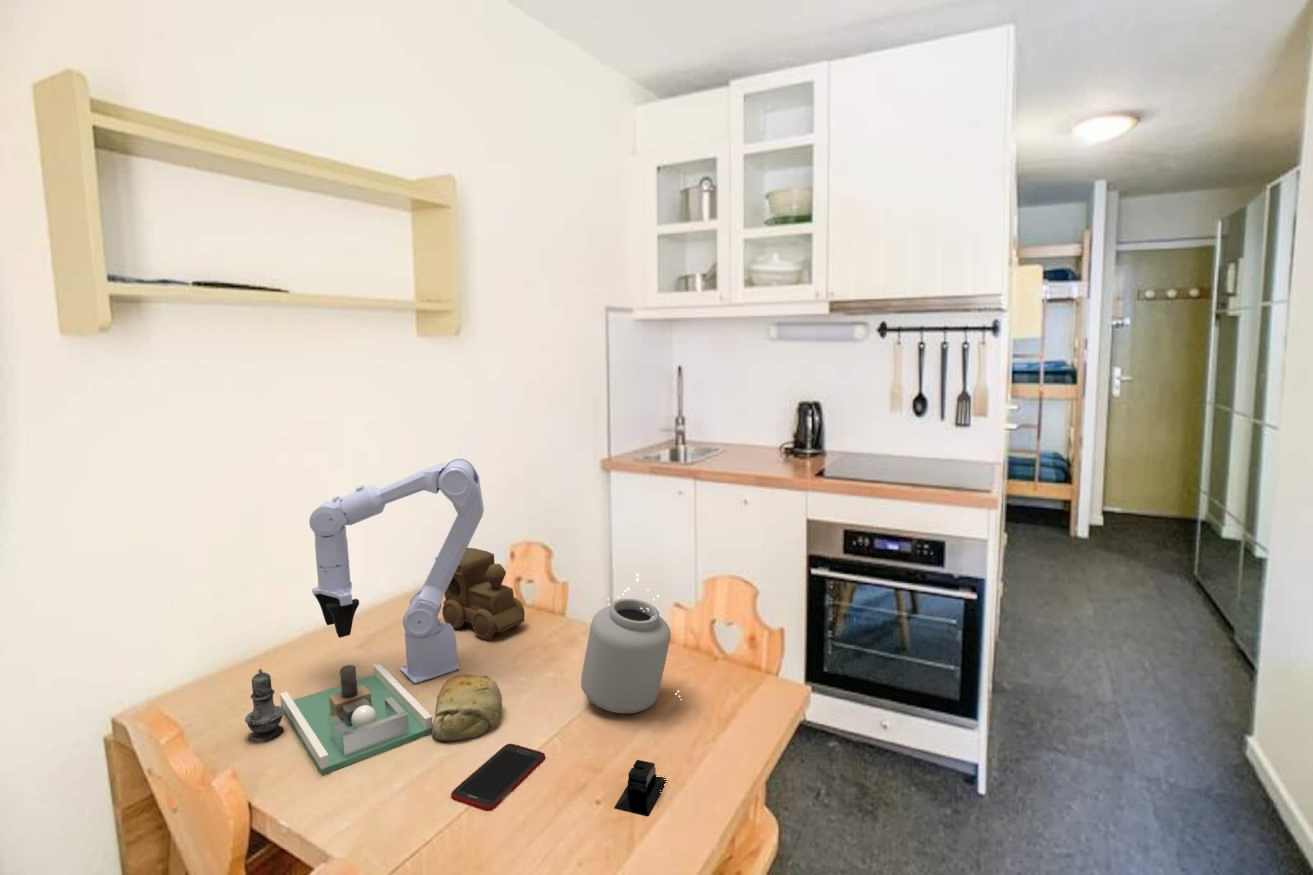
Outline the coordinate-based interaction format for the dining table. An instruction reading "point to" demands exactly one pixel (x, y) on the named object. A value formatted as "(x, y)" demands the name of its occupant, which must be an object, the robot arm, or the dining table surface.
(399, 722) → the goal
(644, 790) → the black stepped block
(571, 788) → the dining table surface
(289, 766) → the dining table surface
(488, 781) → the cell phone
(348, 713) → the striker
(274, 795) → the dining table surface
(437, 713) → the pastry
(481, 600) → the wooden toy train
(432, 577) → the robot arm
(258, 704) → the salt shaker
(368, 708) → the ball
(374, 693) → the pitch
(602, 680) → the jar
